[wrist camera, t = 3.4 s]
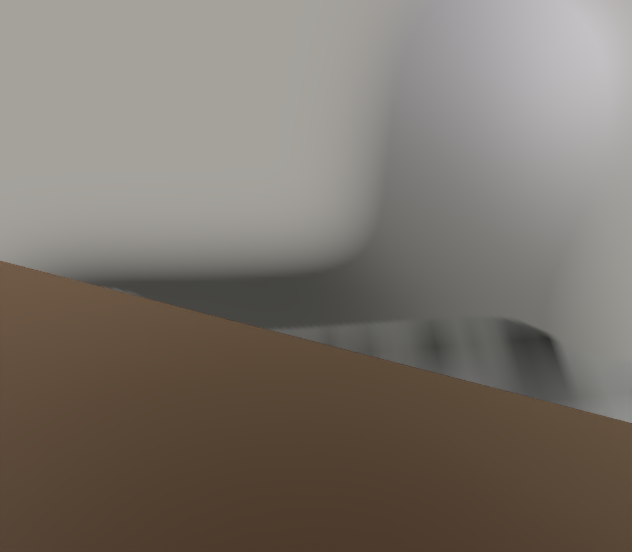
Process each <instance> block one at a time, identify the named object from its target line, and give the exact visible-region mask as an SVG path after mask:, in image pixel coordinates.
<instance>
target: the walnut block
mask: <svg viewBox="0 0 632 552" xmlns="http://www.w3.org/2000/svg"><path fill="white" fill-rule="evenodd" d="M0 552H632V423H628V422H624V421H621V420H617V419H613V418H609V417H605V416H601V415H597V414H593V413H589V412H586V411H582V410H578V409H574V408H570V407H566V406H562V405H558V404H554V403H551V402H547V401H543V400H539V399H535V398H531V397H527V396H523V395H520V394H516V393H512V392H508V391H504V390H500V389H496V388H492V387H488V386H485V385H481V384H477V383H473V382H469V381H465V380H461V379H457V378H453V377H450V376H446V375H442V374H438V373H434V372H430V371H426V370H422V369H418V368H415V367H411V366H407V365H403V364H399V363H395V362H391V361H387V360H384V359H380V358H376V357H372V356H368V355H364V354H360V353H356V352H352V351H349V350H345V349H341V348H337V347H333V346H329V345H325V344H321V343H317V342H314V341H310V340H306V339H302V338H298V337H294V336H290V335H286V334H282V333H279V332H275V331H271V330H267V329H263V328H259V327H255V326H251V325H247V324H244V323H240V322H236V321H232V320H228V319H224V318H220V317H216V316H213V315H209V314H205V313H200V312H197V311H193V310H189V309H185V308H181V307H177V306H173V305H169V304H166V303H162V302H158V301H154V300H150V299H146V298H143V297H139V296H135V295H131V294H127V293H123V292H119V291H115V290H112V289H108V288H104V287H100V286H96V285H92V284H88V283H84V282H80V281H76V280H73V279H69V278H65V277H61V276H57V275H53V274H49V273H45V272H42V271H38V270H34V269H29V268H26V267H22V266H18V265H14V264H10V263H6V262H3V261H0Z"/></svg>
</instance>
